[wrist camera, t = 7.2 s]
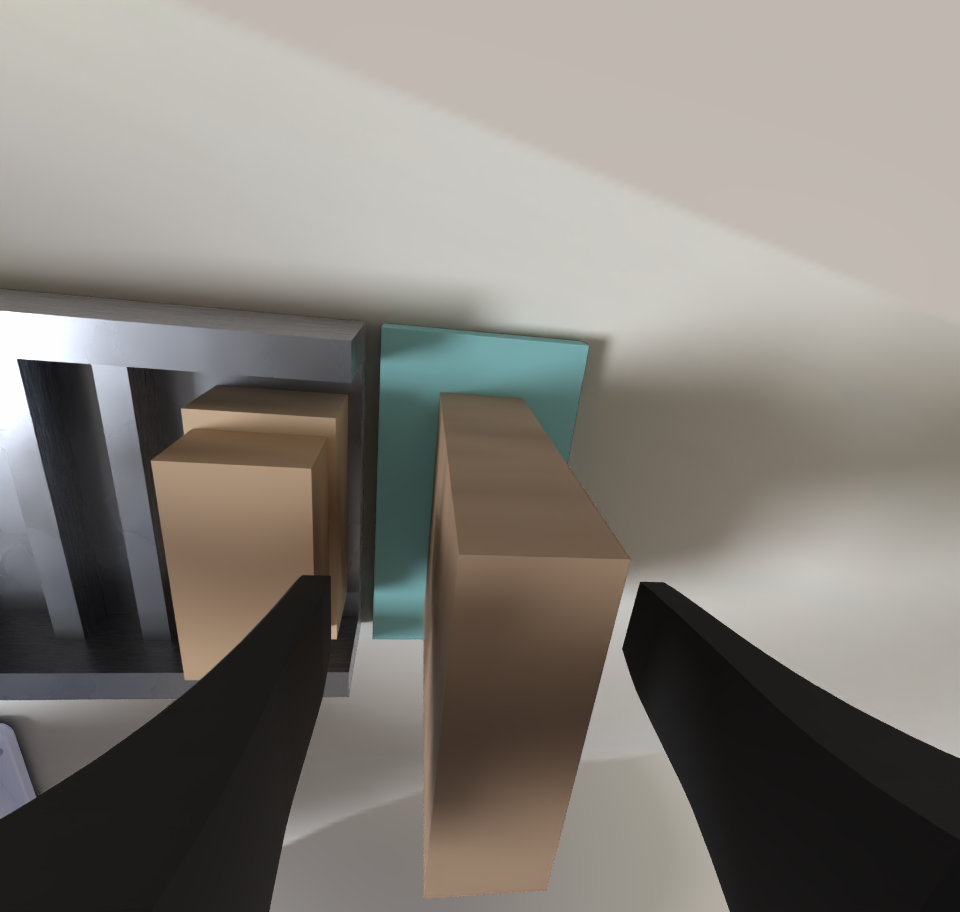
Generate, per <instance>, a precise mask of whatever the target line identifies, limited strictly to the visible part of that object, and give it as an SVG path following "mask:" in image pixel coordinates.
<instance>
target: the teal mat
mask: <svg viewBox="0 0 960 912" xmlns="http://www.w3.org/2000/svg"><path fill="white" fill-rule="evenodd" d="M588 349H589V345H587V344H585V343H584V342H582V341H574V340H563V339H552V338H541V337H530V336H519V335H508V334H497V333H486V332H475V331H464V330H453V329H442V328H431V327H419V326H408V325H397V324H386V323H383V325H382V328H381V362H380V397H379V432H378V466H377V501H376V536H375V570H374V605H373V639H424V598H425V585H426V572H427V558H428V545H429V532H430V519H431V505H432V492H433V479H434V465H435V452H436V439H437V425H438V412H439V399H440V392H442V393H456V394H470V395H483V396H497V397H511V398H523V399H524V401H525V402H526V404H527V405H528V407H529V408H530V410H531V411H532V413H533V414H534V416H535V417H536V419H537V420H538V422H539V423H540V425H541V426H542V428H543V429H544V431H545V432H546V434H547V435H548V437H549V438H550V440H551V441H552V443H553V444H554V446H555V447H556V449H557V450H558V452H559V453H560V455H561V456H562V458H563V459H564V461H565V462H566V464H568V458H569V453H570V447H571V442H572V436H573V431H574V425H575V420H576V415H577V409H578V404H579V398H580V393H581V387H582V382H583V376H584V371H585V365H586V360H587V355H588Z"/></svg>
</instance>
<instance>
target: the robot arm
mask: <svg viewBox="0 0 960 912" xmlns="http://www.w3.org/2000/svg"><path fill="white" fill-rule="evenodd" d="M622 650H623V653H624V656H625V659H626V662H627V666H628V669H629V672H630V675H631V678H632V680H633V683H634V686H635V689H636V691H637V693H638V696H639V698H640V700H641V702H642V704H643V706H644V708H645V711H646V713H647V715H648V717H649V719H650V721H651V723H652V725H653V727H654V729H655V731H656V733H657V735H658V737H659V739H660V741H661V744H662V746H663V748H664V750H665V752H666V754H667V755H668V758H669V760H670V762H671V764H672V766H673V768H674V770H675V772H676V774H677V776H678V778H679V780H680V782H681V784H682V787H683V789H684V791H685V793H686V796H687V798H688V800H689V802H690V804H691V807H692V809H693V812H694V814H695V817H696V820H697V822H698V825H699V828H700V830H701V833H702V836H703V838H704V841H705V844H706V846H707V849H708V851H709V854H710V857H711V859H712V862H713V865H714V868H715V870H716V874H717V876H718V879H719V882H720V885H721V888H722V891H723V893H724V896H725V899H726V902H727V905H728V908H729V910H730V912H960V758H958V757H955V756H953V755H951V754H948V753H946V752H944V751H942V750H939V749H937V748H935V747H933V746H931V745H929V744H927V743H924V742H922V741H920V740H918V739H916V738H914V737H912V736H910V735H908V734H906V733H904V732H902V731H900V730H898V729H896V728H894V727H892V726H890V725H888V724H886V723H884V722H882V721H880V720H878V719H876V718H874V717H872V716H870V715H868V714H866V713H864V712H862V711H860V710H859V709H857V708H855V707H853V706H851V705H849V704H847V703H846V702H844V701H842V700H840V699H839V698H837V697H835V696H833V695H832V694H830V693H828V692H827V691H825V690H823V689H821V688H820V687H818V686H816V685H814V684H813V683H811V682H809V681H808V680H806V679H804V678H803V677H801V676H800V675H798V674H796V673H795V672H793V671H792V670H790V669H789V668H787V667H785V666H784V665H782V664H781V663H779V662H778V661H776V660H775V659H773V658H772V657H770V656H769V655H767V654H766V653H764V652H763V651H761V650H760V649H758V648H757V647H755V646H754V645H752V644H751V643H750V642H748V641H747V640H745V639H744V638H742V637H741V636H740V635H738V634H737V633H735V632H734V631H733V630H731V629H730V628H728V627H727V626H726V625H724V624H723V623H721V622H720V621H719V620H717V619H716V618H714V617H713V616H712V615H710V614H709V613H708V612H706V611H705V610H703V609H702V608H701V607H699V606H698V605H697V604H695V603H694V602H692V601H691V600H690V599H688V598H687V597H685V596H684V595H683V594H681V593H680V592H678V591H677V590H675V589H674V588H672V587H671V586H669V585H667V584H666V583H664V582H640V584H639V588H638V592H637V595H636V599H635V603H634V607H633V610H632V614H631V618H630V622H629V625H628V629H627V633H626V637H625V640H624V644H623V648H622ZM330 654H331V576H324V575H302V576H300V577H299V578H298V579H297V580H296V581H295V582H294V583H293V585H292V586H291V587H290V588H289V589H288V591H287V592H286V593H285V594H284V595H283V596H282V598H281V599H280V600H279V601H278V602H277V603H276V604H275V606H274V607H273V608H272V609H271V610H270V611H269V612H268V613H267V614H266V616H265V617H264V618H263V619H262V620H261V621H260V622H259V623H258V624H257V625H256V626H255V627H254V628H253V629H252V630H251V631H250V632H249V633H248V634H247V636H246V637H245V638H244V639H243V640H242V641H241V642H240V643H239V644H238V645H237V646H236V647H235V648H234V649H232V650H231V651H230V652H229V653H228V654H227V655H226V656H225V657H224V658H223V659H222V660H221V661H220V662H219V663H218V664H217V665H216V666H215V667H213V668H212V669H211V670H210V671H209V672H208V673H207V674H206V675H205V676H204V677H203V678H201V679H200V680H199V681H198V682H197V683H196V684H195V685H193V686H192V687H191V688H190V689H189V690H188V691H186V692H185V693H184V694H183V695H182V696H180V697H179V698H178V699H177V700H175V701H174V702H173V703H172V704H171V705H169V706H168V707H167V708H166V709H164V710H163V711H162V712H161V713H159V714H158V715H157V716H155V717H154V718H153V719H151V720H150V721H149V722H147V723H146V724H145V725H143V726H142V727H141V728H139V729H138V730H137V731H135V732H134V733H132V734H131V735H130V736H128V737H127V738H125V739H124V740H123V741H121V742H120V743H119V744H117V745H116V746H114V747H113V748H112V749H110V750H109V751H107V752H106V753H105V754H103V755H102V756H100V757H99V758H97V759H96V760H94V761H93V762H91V763H90V764H88V765H87V766H85V767H84V768H82V769H81V770H79V771H77V772H76V773H74V774H73V775H71V776H70V777H68V778H67V779H65V780H64V781H62V782H60V783H59V784H57V785H56V786H54V787H52V788H51V789H49V790H47V791H46V792H44V793H43V794H41V795H39V796H38V797H36V795H35V792H34V789H33V786H32V783H31V780H30V777H29V774H28V772H27V769H26V766H25V763H24V760H23V757H22V754H21V751H20V748H19V745H18V742H17V739H16V736H15V733H14V731H13V730H12V728H11V727H9V726H8V725H6V724H3V723H0V912H269V910H270V904H271V900H272V894H273V889H274V884H275V879H276V874H277V869H278V864H279V859H280V854H281V849H282V844H283V839H284V834H285V829H286V825H287V821H288V817H289V813H290V809H291V805H292V801H293V798H294V794H295V791H296V787H297V784H298V781H299V777H300V774H301V770H302V767H303V763H304V760H305V757H306V753H307V750H308V746H309V743H310V739H311V736H312V733H313V729H314V726H315V722H316V719H317V715H318V712H319V708H320V705H321V701H322V698H323V694H324V689H325V683H326V678H327V672H328V666H329V660H330Z"/></svg>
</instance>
